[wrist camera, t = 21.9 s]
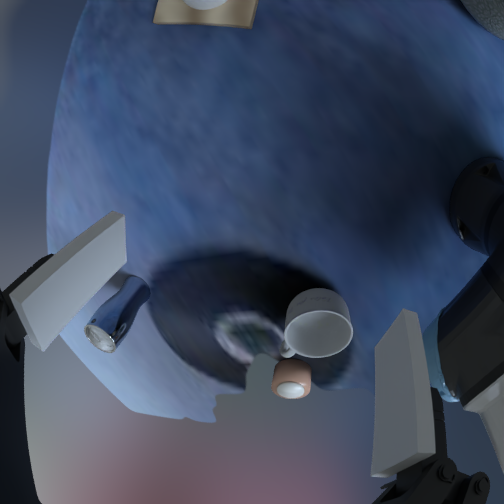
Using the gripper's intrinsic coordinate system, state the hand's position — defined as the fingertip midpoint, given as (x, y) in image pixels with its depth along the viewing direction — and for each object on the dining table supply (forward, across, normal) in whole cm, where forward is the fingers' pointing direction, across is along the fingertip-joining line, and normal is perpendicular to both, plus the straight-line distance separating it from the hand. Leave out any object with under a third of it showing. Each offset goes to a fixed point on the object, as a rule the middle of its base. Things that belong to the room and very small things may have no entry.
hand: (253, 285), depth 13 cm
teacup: (+30, +9, -26) cm, 41 cm away
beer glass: (+27, -24, -34) cm, 50 cm away
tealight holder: (+29, +11, -44) cm, 54 cm away
